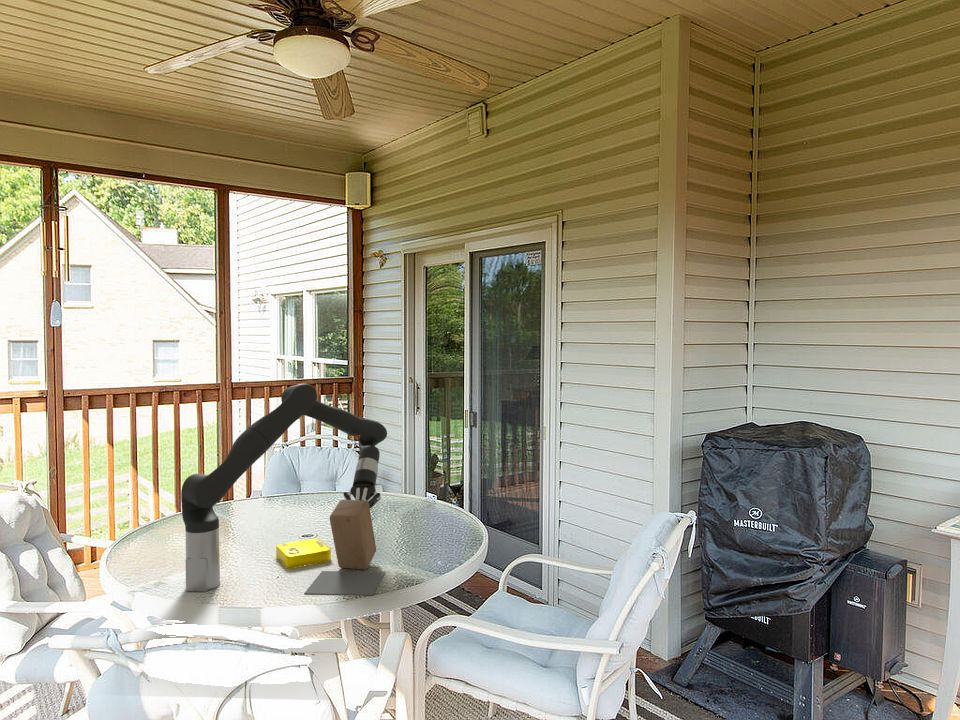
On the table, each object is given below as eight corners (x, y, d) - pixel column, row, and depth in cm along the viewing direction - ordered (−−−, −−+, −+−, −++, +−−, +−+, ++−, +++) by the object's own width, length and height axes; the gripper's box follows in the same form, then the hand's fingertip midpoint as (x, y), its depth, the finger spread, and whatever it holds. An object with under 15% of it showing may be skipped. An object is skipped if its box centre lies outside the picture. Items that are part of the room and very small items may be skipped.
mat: (373, 595, 189) (373, 594, 189) (304, 594, 190) (304, 593, 190) (384, 572, 207) (384, 571, 207) (322, 571, 208) (322, 570, 208)
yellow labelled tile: (332, 562, 218) (332, 547, 218) (287, 570, 210) (286, 555, 210) (318, 549, 231) (318, 536, 231) (274, 557, 223) (274, 543, 223)
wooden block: (367, 571, 208) (358, 518, 201) (337, 568, 210) (327, 516, 203) (377, 550, 217) (369, 499, 210) (349, 548, 219) (340, 498, 212)
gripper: (345, 467, 224) (335, 513, 212) (383, 468, 223) (376, 513, 211) (348, 480, 229) (340, 524, 217) (386, 480, 229) (379, 525, 217)
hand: (358, 519), depth 214 cm, fingers closed
